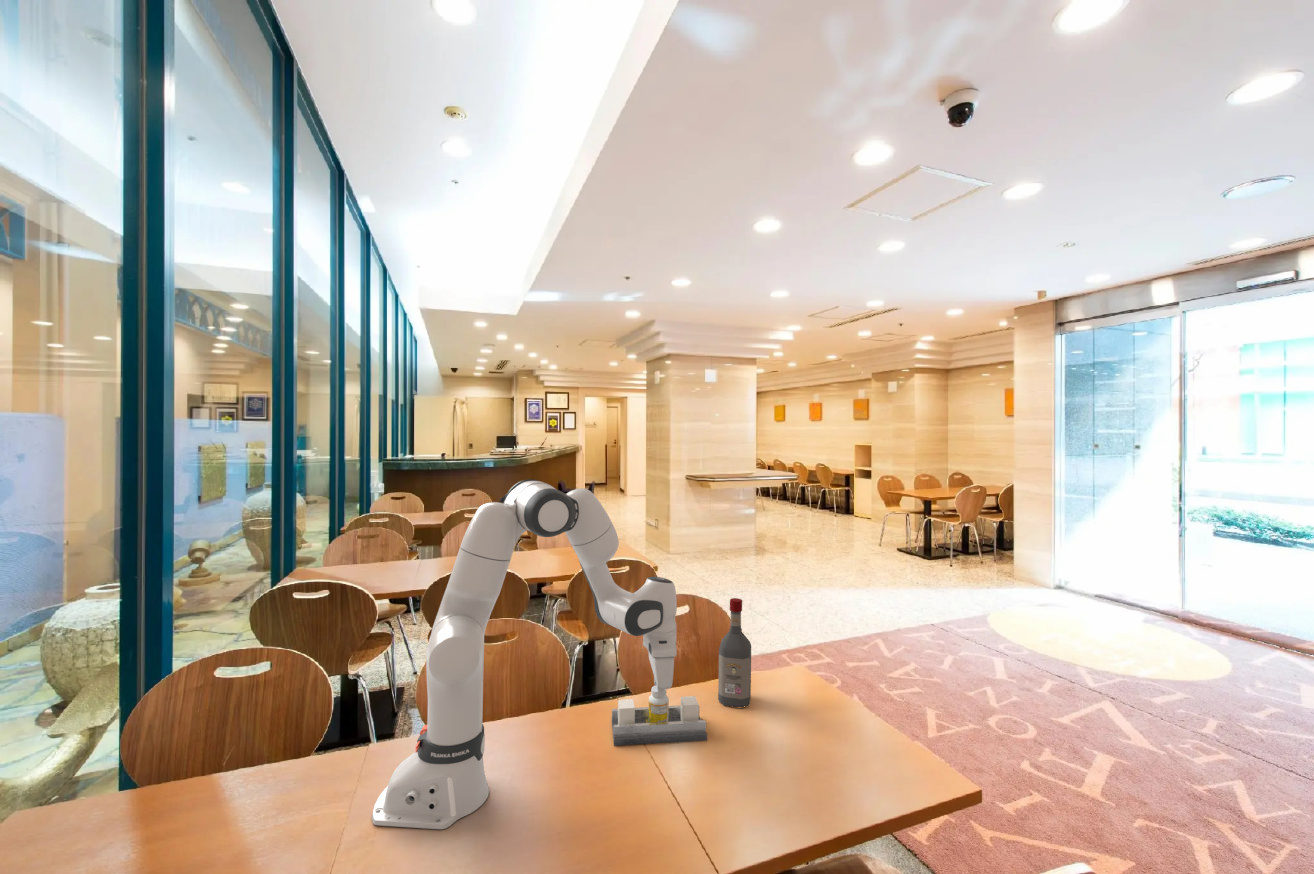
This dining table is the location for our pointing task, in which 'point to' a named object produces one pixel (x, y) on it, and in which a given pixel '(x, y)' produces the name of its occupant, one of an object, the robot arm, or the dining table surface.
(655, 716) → the supplement bottle
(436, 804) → the robot arm
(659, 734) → the rail
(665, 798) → the dining table surface
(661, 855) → the dining table surface
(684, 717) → the rail posts
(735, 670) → the liquor
